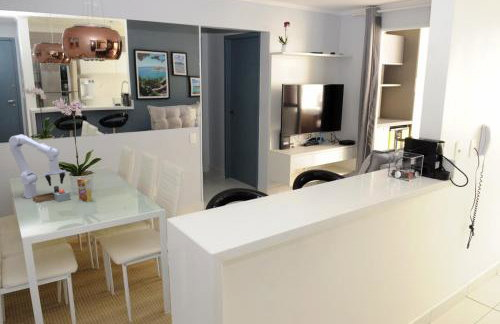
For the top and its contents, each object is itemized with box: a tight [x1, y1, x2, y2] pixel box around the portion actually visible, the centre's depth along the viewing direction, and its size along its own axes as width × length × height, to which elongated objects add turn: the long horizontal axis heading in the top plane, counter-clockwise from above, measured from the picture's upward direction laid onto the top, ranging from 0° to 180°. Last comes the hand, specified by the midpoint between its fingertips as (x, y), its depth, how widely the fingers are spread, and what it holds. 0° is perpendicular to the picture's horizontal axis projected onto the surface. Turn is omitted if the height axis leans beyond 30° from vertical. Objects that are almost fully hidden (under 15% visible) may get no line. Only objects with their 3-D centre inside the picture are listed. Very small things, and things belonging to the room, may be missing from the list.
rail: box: [32, 192, 55, 204], centre depth 273 cm, size 8×19×3 cm, turn 135°
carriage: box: [50, 185, 59, 195], centre depth 275 cm, size 5×6×6 cm
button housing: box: [54, 190, 71, 203], centre depth 270 cm, size 6×8×5 cm
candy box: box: [76, 177, 93, 203], centre depth 269 cm, size 9×4×15 cm, turn 61°
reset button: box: [59, 188, 65, 194], centre depth 270 cm, size 3×3×4 cm
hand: (55, 184), depth 274 cm, fingers open, 7 cm apart
